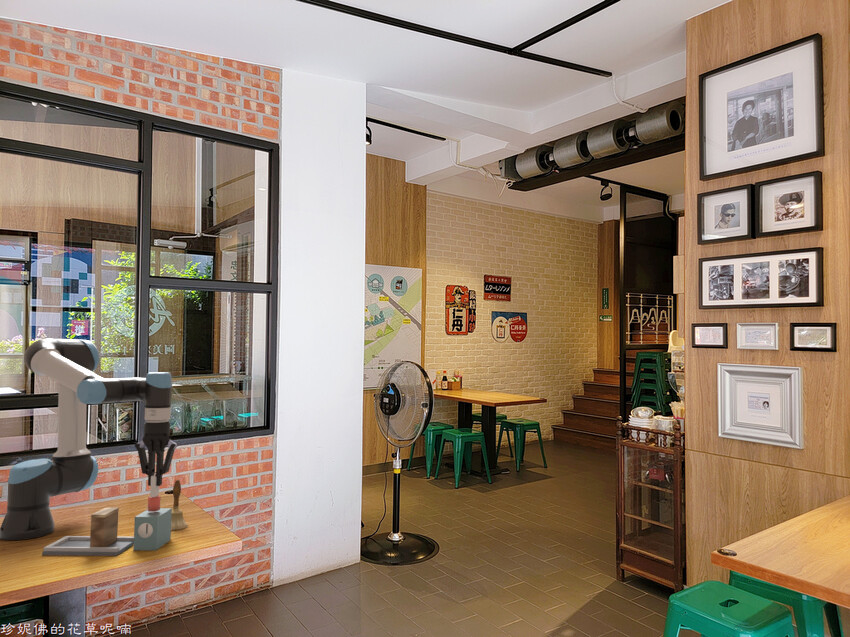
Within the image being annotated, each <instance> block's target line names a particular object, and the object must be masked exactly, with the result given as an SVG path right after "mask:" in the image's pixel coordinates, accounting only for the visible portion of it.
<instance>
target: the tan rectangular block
mask: <svg viewBox="0 0 850 637" xmlns="http://www.w3.org/2000/svg"><path fill="white" fill-rule="evenodd" d="M119 509H120V508H119V507H109V506H108V507H104V508H102V509H99V510H98V511H95V512H94V513H91V514H90V535H89V536H90V547H107V546H109V545H110V544H112V543H114V542H115V541H117V536H118V532H119V531H118V528H119Z"/></svg>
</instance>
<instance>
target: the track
mask: <svg viewBox="0 0 850 637" xmlns="http://www.w3.org/2000/svg"><path fill="white" fill-rule="evenodd" d="M132 546H134V536H119V535H117V541H115V542H114V543H112V544H110V545H109V546H107V547H90V535H74V536H73V535H65V536H63V537H62V538H61V537H60V538H59V539H58V540H56V541H54V542H51V543H50V544H48V545H46V546H44V547H43V549H42V550H43V551H42V552H41V555H42V556H82V557H83V556H84V557H85V556H86V557H87V556H88V557H89V556H90V557H93V556H94V557H95V556H99V557H102V556H103V557H105V556H106V557H107V556H108V557H109V556H111V557H112V556H113V557H117V556H119V555H120V554H122V553H123V552H125V551H126V550H128V549H129V548H130V547H132Z"/></svg>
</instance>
